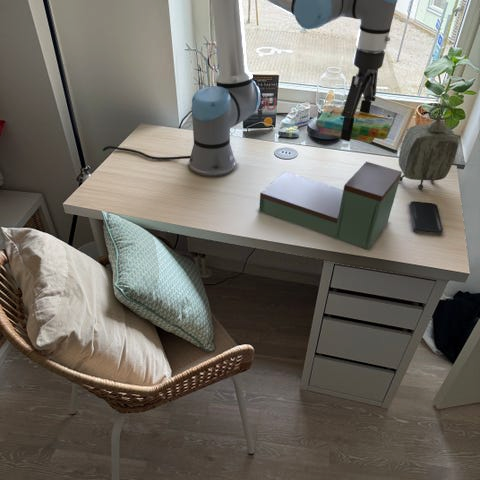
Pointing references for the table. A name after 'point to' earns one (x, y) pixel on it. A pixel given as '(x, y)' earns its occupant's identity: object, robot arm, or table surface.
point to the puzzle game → (355, 124)
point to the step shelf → (336, 203)
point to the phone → (425, 218)
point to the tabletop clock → (428, 150)
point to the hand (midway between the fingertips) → (353, 131)
